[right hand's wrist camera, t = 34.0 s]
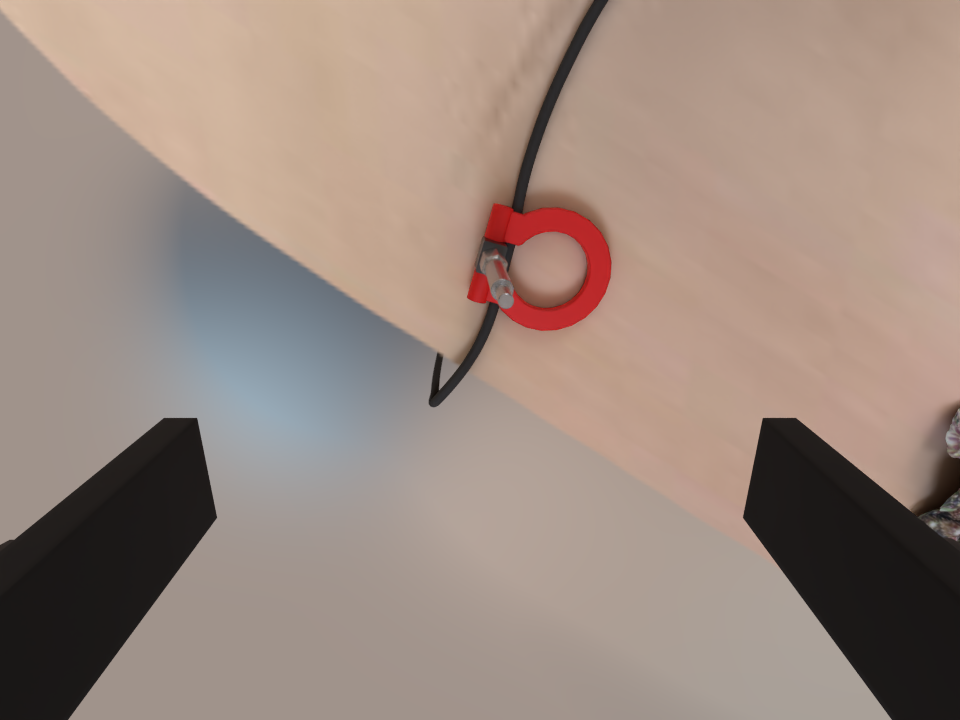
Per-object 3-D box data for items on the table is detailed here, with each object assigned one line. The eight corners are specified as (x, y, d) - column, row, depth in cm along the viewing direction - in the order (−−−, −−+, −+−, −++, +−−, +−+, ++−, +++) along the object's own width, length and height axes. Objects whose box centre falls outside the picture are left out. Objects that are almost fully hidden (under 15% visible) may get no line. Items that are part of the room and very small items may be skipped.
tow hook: (624, 226, 37) (495, 187, 36) (706, 263, 25) (516, 207, 24) (582, 338, 40) (461, 306, 39) (638, 419, 28) (465, 377, 27)
